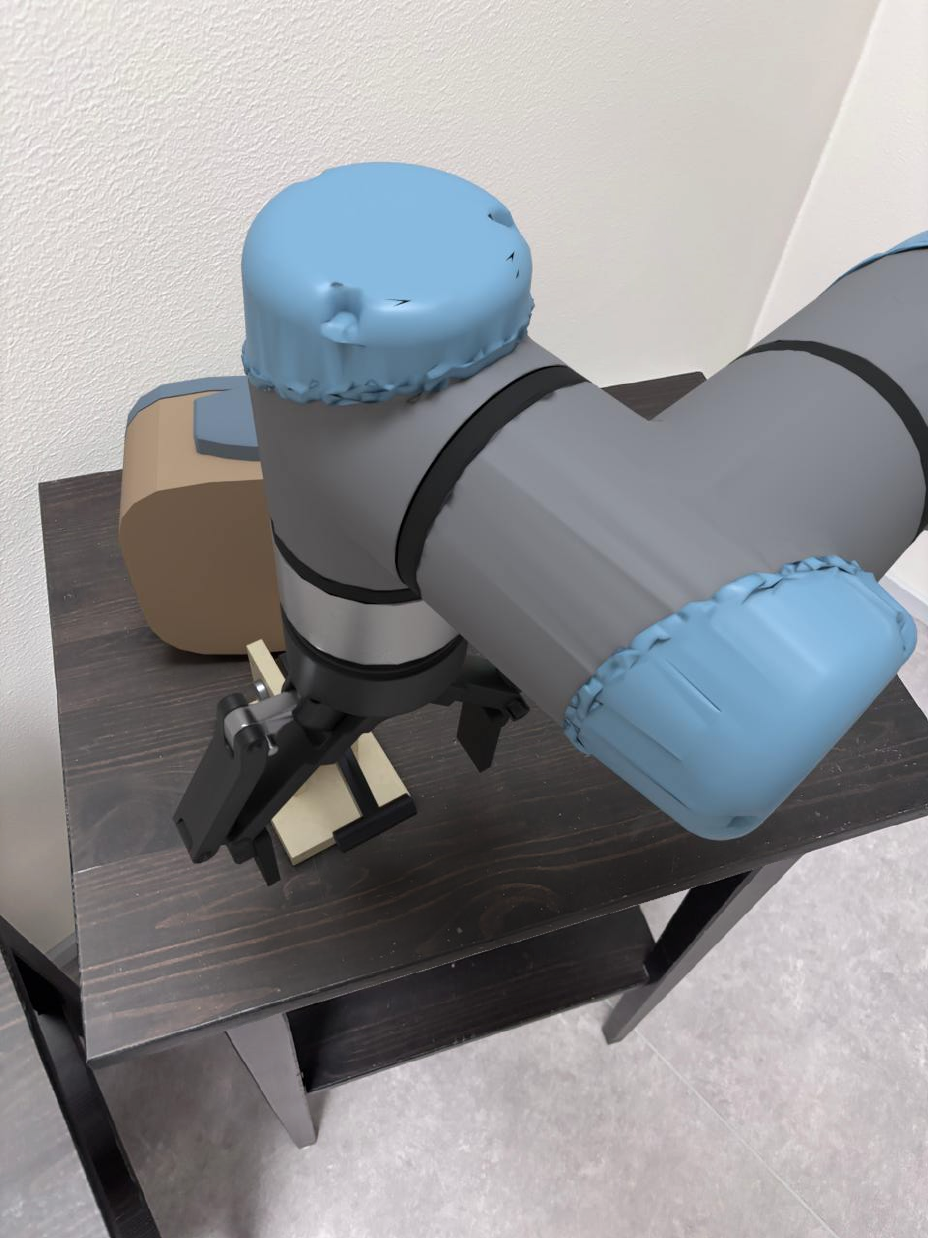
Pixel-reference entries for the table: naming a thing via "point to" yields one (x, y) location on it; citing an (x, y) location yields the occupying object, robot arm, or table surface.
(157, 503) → the alarm clock
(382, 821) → the lever
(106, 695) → the table surface
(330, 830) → the hinged lever switch
